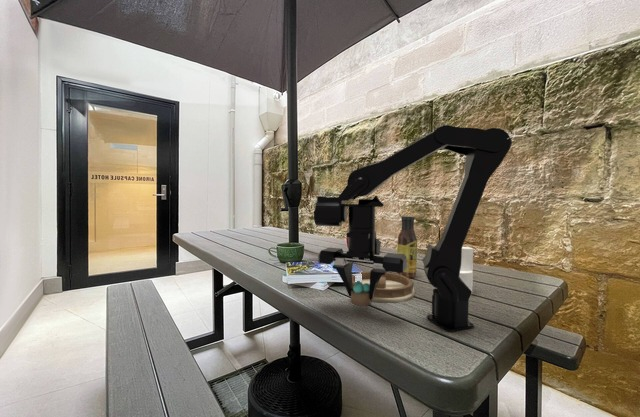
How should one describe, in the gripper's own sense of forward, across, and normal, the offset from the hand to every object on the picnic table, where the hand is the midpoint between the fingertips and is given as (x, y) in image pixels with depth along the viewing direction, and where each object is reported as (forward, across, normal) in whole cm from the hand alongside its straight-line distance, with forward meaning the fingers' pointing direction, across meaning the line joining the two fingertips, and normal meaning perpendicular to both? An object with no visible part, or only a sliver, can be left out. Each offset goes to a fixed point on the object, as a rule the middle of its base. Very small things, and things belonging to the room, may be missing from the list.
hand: (360, 297), depth 60 cm
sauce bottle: (+4, -4, -35) cm, 36 cm away
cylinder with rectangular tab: (+4, -18, -27) cm, 33 cm away
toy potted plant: (+1, 0, 0) cm, 1 cm away
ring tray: (+4, 0, -17) cm, 17 cm away
